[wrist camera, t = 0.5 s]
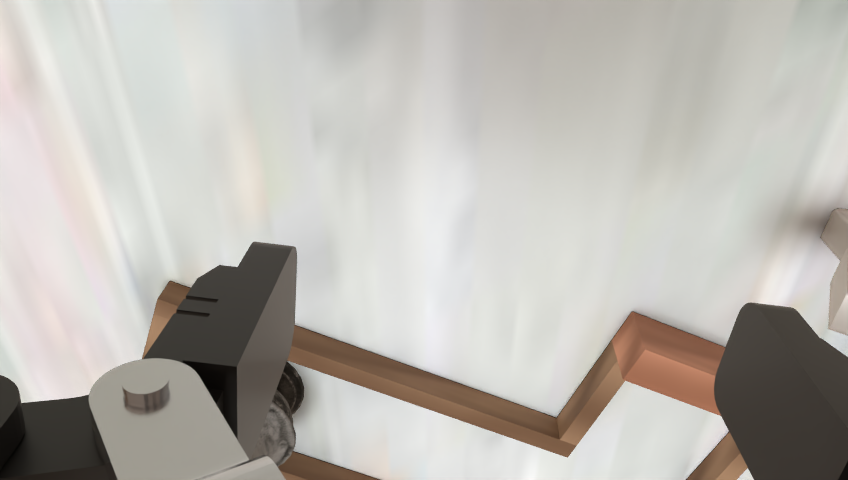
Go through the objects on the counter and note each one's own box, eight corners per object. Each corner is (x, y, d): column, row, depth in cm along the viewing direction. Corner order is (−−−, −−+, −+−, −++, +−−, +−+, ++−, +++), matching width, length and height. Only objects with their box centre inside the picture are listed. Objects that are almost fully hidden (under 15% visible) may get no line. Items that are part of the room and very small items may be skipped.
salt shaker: (324, 415, 39) (272, 621, 29) (230, 432, 40) (148, 636, 30) (285, 335, 37) (213, 530, 26) (186, 355, 38) (79, 551, 27)
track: (205, 146, 31) (181, 173, 29) (801, 376, 36) (826, 418, 33) (134, 412, 40) (111, 451, 37) (622, 570, 45) (631, 615, 42)
